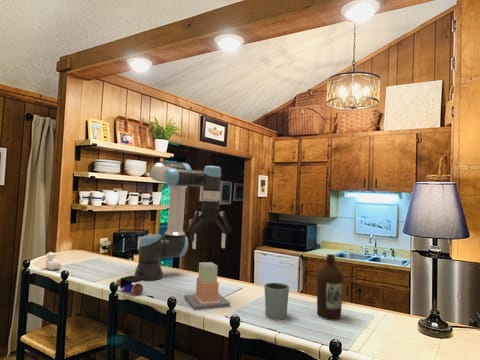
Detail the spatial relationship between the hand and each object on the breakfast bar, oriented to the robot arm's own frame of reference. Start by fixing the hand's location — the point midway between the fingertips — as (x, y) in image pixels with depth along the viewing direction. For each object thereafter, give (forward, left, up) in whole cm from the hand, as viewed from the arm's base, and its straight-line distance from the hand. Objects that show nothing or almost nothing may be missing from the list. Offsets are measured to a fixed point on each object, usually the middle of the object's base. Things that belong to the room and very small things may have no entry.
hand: (208, 248), depth 153 cm
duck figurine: (-80, -68, -24) cm, 107 cm away
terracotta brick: (0, 0, -22) cm, 22 cm away
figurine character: (-24, -30, -24) cm, 45 cm away
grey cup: (+23, +22, -24) cm, 40 cm away
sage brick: (0, 0, -14) cm, 14 cm away
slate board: (0, 0, -24) cm, 24 cm away
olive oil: (+30, +43, -24) cm, 58 cm away
